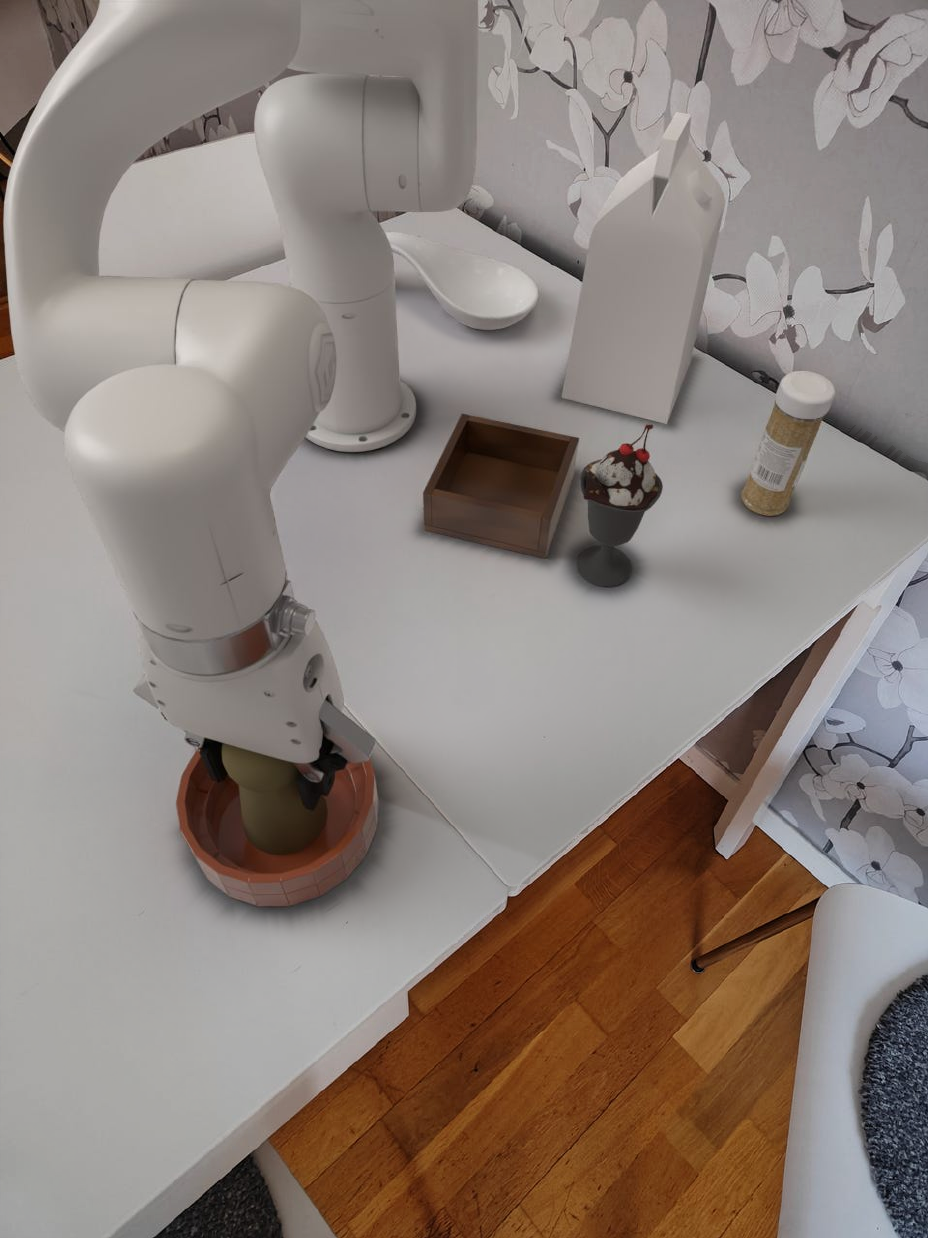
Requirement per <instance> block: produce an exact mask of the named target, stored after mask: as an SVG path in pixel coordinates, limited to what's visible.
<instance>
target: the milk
mask: <svg viewBox="0 0 928 1238" xmlns="http://www.w3.org/2000/svg"><path fill="white" fill-rule="evenodd" d="M691 124H692V114H691V113H685V112H680V111H676V112H675V114H674V115H673V117H672V119H671V121H670V122H669V124H668V126H667V128H666V129H665V131H664V132H663V135H662V136H661V139H660V143H659V148H658V150H656V151H655V152H654V153H652V154H651V155H649V156H647V157H646V158H645V159H643V160H642V161H640V162H639V163H637V164H636V165H635V166H634V167H632V168H631V169H630V170H629V171H627V173H626V174H624V176H622V178H620V179H619V180H618V182H617V183H616V185H615V187H614V188H613V190H612V191H611V193H610V194H609V196H608V198H607V200H606V201H605V203H604V204H603V207H602V208H601V210H600V211H599V213H598V215H597V216H596V219H595V222H594V224H593V227H592V232H591V234H590V237H589V242H588V248H587V254H586V259H585V265H584V271H583V275H582V281H581V288H580V293H579V297H578V304H577V309H576V315H575V320H574V326H573V332H572V337H571V342H570V346H569V354H568V359H567V364H566V370H565V375H564V381H563V386H562V392H561V399H564V400H568V401H573V402H577V403H581V404H585V405H589V406H593V407H597V408H601V409H605V410H608V411H609V410H610V411H613V412H617V413H621V414H625V415H628V416H631V417H632V416H633V417H637V418H641V419H645V420H649V421H653V422H656V423H660V424H665V425H668V422H669V419H670V417H671V415H672V412H673V409H674V406H675V404H676V401H677V399H678V396H679V393H680V392H681V388H682V386H683V383H684V380H685V378H686V376H687V373H688V370H689V367H690V365H691V362H692V359H693V353H694V350H695V346H696V345H695V344H696V341H697V336H698V332H699V326H700V321H701V318H702V313H703V307H704V303H705V300H706V299H705V298H706V296H707V295H706V294H707V290H708V285H709V282H710V281H709V280H710V276H711V271H712V267H713V263H714V258H715V253H716V249H717V244H718V239H719V234H720V230H721V225H722V221H723V217H724V212H725V206H726V198H725V193H724V190H723V188H722V186H721V185H720V183H719V182H718V180H717V178H716V177H715V176H714V174H713V173H712V171H711V170H710V169H709V167H708V166H707V164H706V163H705V162H704V160H703V159H702V158H701V156H700V155H699V153H698V152H697V151H696V150H695V148H694V147H693V145H692V144H691V143H690V142H689V141H690V135H691Z"/></svg>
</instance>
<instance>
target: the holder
mask: <svg viewBox="0 0 928 1238" xmlns="http://www.w3.org/2000/svg"><path fill="white" fill-rule="evenodd" d="M579 443H580V437H577V436H572V435H568V434H562V433H558V432H553V431H549V430H544V429H539V428H534V427H529V426H524V425H520V424H515V423H510V422H505V421H501V420H496V419H491V418H485V417H482V416H477V415H471V414H467V413H461V414H460V416H459V419H458V421H457V423H456V424H455V427H454V428H453V431H452V433H451V435H450V437H449V438H448V440H447V443H446V444H445V447H444V449H443V451H442V453H441V455H440V457H439V460H438V461H437V463H436V466H435V468H434V470H433V472H432V473H431V475H430V477H429V480H428V481H427V483H426V485H425V488H424V490H423V492H422V498H423V499H422V502H423V504H422V505H423V527H424V531H427V532H431V533H434V534H435V533H436V534H440V535H444V536H448V537H452V538H456V539H459V540H460V539H461V540H465V541H470V542H473V543H478V544H480V545H486V546H490V547H494V548H499V549H503V550H507V551H512V552H516V553H519V554H520V553H521V554H525V555H529V556H533V557H537V558H542V559H546V558H547V556H548V553H549V550H550V547H551V544H552V541H553V538H554V535H555V532H556V530H557V526H558V524H559V521H560V517H561V515H562V511H563V508H564V505H565V503H566V500H567V497H568V494H569V492H570V488H571V485H572V483H573V479H574V476H575V469H576V463H577V459H578V458H577V457H578V450H579V445H580V444H579Z"/></svg>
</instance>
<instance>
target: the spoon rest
mask: <svg viewBox="0 0 928 1238" xmlns="http://www.w3.org/2000/svg"><path fill="white" fill-rule="evenodd" d="M384 232H385V231H384ZM385 234H386V236H387V238H388V241H389V243H390V246H391V249H392V253H394V254H397V255H399V256H401V257H402V258H404V259H405V260H406V261H407V262H409V264H410V265H412V267H413V268H414V269H415V270H416V272H417V274H418V275H419V276H420V278H421V279H422V280H423V282H424V283H425V284H426V286H427V287H428V289H429V290H430V291H431V293H432V295H433V296H434V297H435V299H436V300H437V301H438V303H439V304H440V305H441V307H442V308H443V310H444V311H445V312H446V313H447V314H448V315H449V316H451V318H453V319H454V320H455V321H457V322H459V323H461V324H462V325H464V326H466V327H468V328H471V329H474V330H480V331H481V330H482V331H491V330H492V331H494V330H501V329H504V328H507V327H508V328H509V327H511V326H513V325H515V324H517V323H519V322H521V321H522V320H523V319H525V318H526V317H527V316H528V315H529V314H530V313H531V312H532V311H533V310H534V308H535V307H536V306H537V304H538V301H539V297H540V290H539V287H538V285H537V282H536V281H535V280H534V279H533V278H532V277H531V276H530V275H529V274H528V273H526V272H525V271H523V270H522V269H520V268H518V267H516V266H514V265H512V264H509V263H507V262H505V261H502V260H499V259H495V258H492V257H489V256H484V255H481V254H477V253H474V252H470V251H468V250H463V249H460V248H457V247H454V246H451V245H448V244H444V243H441V242H437V241H434V240H431V239H428V238H425V237H421V236H417V235H413V234H409V233H405V232H400V231H386V232H385Z"/></svg>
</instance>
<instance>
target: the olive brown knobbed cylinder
mask: <svg viewBox="0 0 928 1238" xmlns="http://www.w3.org/2000/svg"><path fill="white" fill-rule="evenodd" d="M222 762H223V764H224V767H225V769H226V771H227V773H228V774H229V776H230V777H231V778H232V779H233V780H234V781H235V782H236V783H237V784H238V785H239V793H240V802H241V810H242V819H243V827H244V832H245V834H246V836H247V838H248V840H249V841H250V842H251V843H252V844H253V845H254V846H255V847H256V848H257V849H258V850H261V851H263V852H266V853H268V854H272V855H288V854H292V853H297V852H299V851H301V850H303V849H304V848H306V847H308V846H310V845H311V844H312V843H313V842H314V841H315V840H316V839H317V838H318V837H319V836H320V834H321V832H322V830H323V828H324V827H325V825H326V820H327V815H328V810H327V804H326V800H325V798H324V796H323V795H321V797H320V799H319V801H318V803H317V805H316V808H315V809H314V811H312V810H308V809H305V806H303V803H302V800H301V796H300V793H299V790H298V786H297V783H296V779H297V776H298V774H299V770H298V769H297V768H296V767H295V766H294V764H293V763H292V762H289V761H285V760H281V759H278V758H274V757H271V756H267V755H263V754H260V753H256V752H253V751H249V750H246V749H242V748H239V747H236V746H232V745H229V744H225V743H223V745H222Z"/></svg>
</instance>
